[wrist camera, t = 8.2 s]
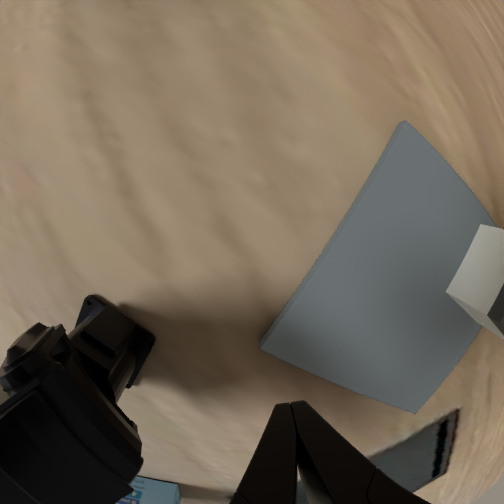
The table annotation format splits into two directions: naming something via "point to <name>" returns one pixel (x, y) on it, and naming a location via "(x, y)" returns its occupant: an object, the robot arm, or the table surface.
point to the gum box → (152, 492)
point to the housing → (482, 280)
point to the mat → (388, 282)
